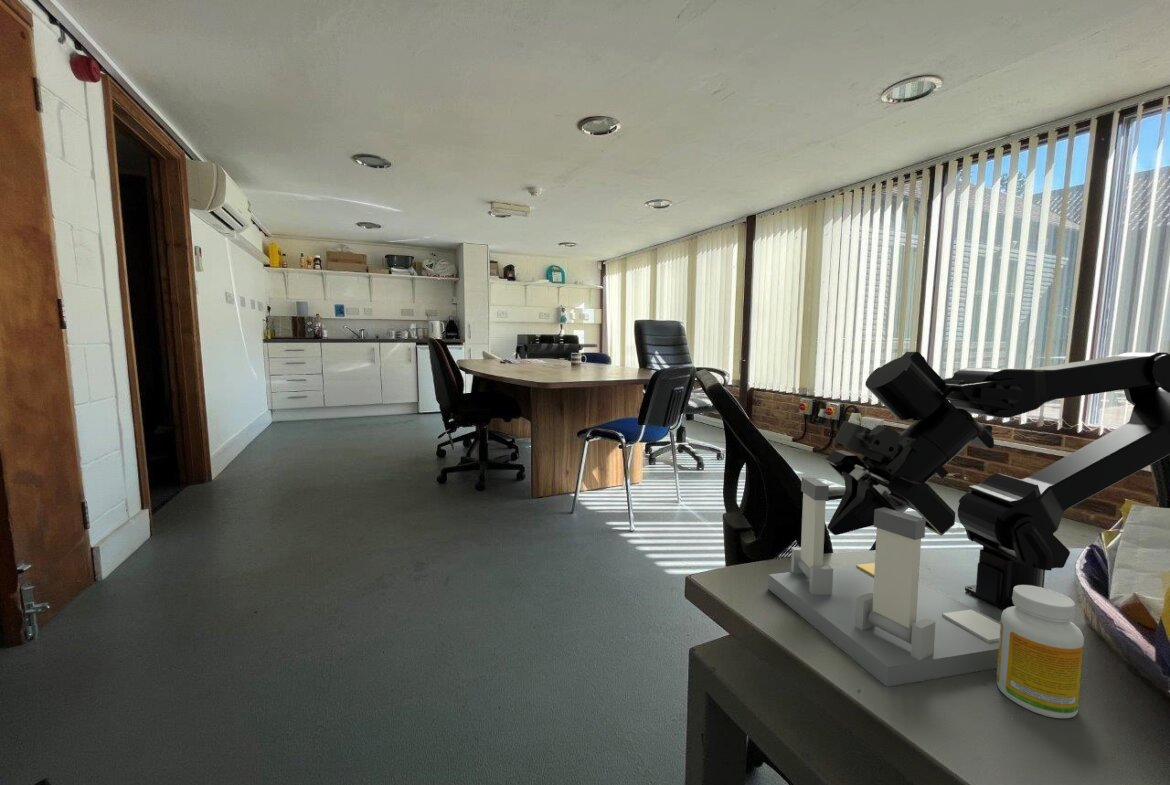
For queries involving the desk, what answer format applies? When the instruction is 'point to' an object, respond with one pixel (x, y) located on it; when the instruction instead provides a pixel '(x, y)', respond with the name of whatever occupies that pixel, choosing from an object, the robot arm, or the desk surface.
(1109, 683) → the desk surface
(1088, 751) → the desk surface
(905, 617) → the switch
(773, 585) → the grey base plate
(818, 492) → the switch
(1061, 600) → the supplement bottle
